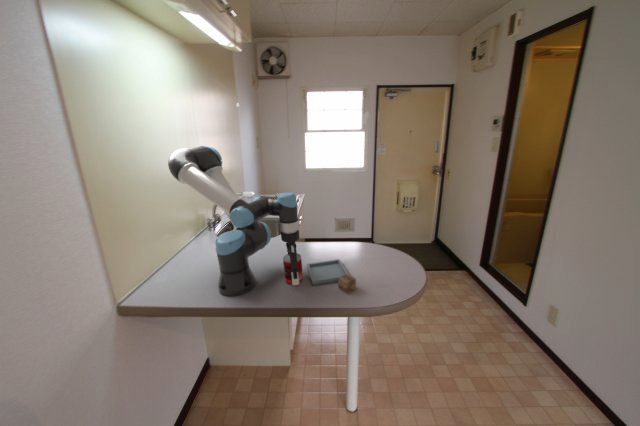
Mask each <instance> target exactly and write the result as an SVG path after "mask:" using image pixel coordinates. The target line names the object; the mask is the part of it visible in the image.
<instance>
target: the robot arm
mask: <svg viewBox="0 0 640 426" xmlns="http://www.w3.org/2000/svg"><path fill="white" fill-rule="evenodd" d="M222 159H223V158H222V155H221V153H220V152H219V151H218V150H217V149H216V148H214V147H212V146H210V145H207V146H206V145H205V146H204V145H201V146H197V147H196V146H195V147H188V148H179V149H177V150H175V151H173V152H172V153H171V155H170V156H169V158H168V161H167V165H168V170H169V172H170V174H171V175H172V177H173V178H175V179H176V180H177V181H178V182H179V183H181V184H183V185H188V186H189V187H191V188H192V189H194V190H195V191H197V192H198V193H199V194H201V195H202V196H203V197H205V198H206V199H207V200H209V201H210V202H212V203H213V204H215V205H216V206H217V207H218V208H220V209H221V210H222V211H223V212H224V214H225V215H226V216H227V218H228V219H229V221H230V223H231V224H232V225H233V229H231V230H230V231H229V230H228V231H225V232H223V233H221V234H220V235H218V236H217V237H216V239H215V243H214V244H215V252H216V256H217V261H218V267H219V277H218V283H217V287H218V292H219V293H220V294H222V295H223V296H227V297H234V296H235V297H236V296H240V295H241V296H242V295H243V294H246V293H248V292H250V291H251V290H253V289H254V287H255V286H256V278H255V275H254V273H253V271H252V269H251V268H250V265H249V257H251V256H252V255H254V254H256V253H258V252H259V251H261V250H263V249H264V248H265V247H267V245H269V243H270V242H271V237H272V235H271V234H272V231H271V229H270V227H269V225H267V223H265V222H263V221H260V220H262V219H264V218H266V217H269V216H272V217H273V216H274V217H278V219H279V222H278V223H279V230H280V239H281V241H282V242H283V243H284V242H285V247H286V252H287V254H288V255H289V256H290V262H291V269H292V270H290V272H291V275H292V284H291V286H298V285H300V283H299V276H298V271H299V270H298V263H297V255H296V254H297V253H298V252H297V243H296V241H297V242H298V241H299V240H300V230H299V225H300V223H301V222H300V221H299V216H298V202H297V196H296V194H295V193H294V192H291V191H290V192H280V193H278V194H277V196H275V197H273V196H266V195H260V196H255V197H254V199H253V200H252V202H247V201H246V200H244V199H242V198H241V197H239V196H238V194H237V193H236V191H234V189H233V187H232V186H231V185H230V183H229V181H228V180H227V178H226V177H225V175H224V174H223V173H222V172H223V168H224V167H223V161H222Z"/></svg>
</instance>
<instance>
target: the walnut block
mask: <svg viewBox="0 0 640 426" xmlns="http://www.w3.org/2000/svg"><path fill="white" fill-rule="evenodd" d="M337 283H338V284H337V286H338V287H337V288H338V289H339V290H340V291H342V292H343V293H344V294H345V295H346V294H349V293H351V292H353V291H356V290H357V279H356V277H354V276H352V275H351V274H349V273H348V274H346V275H343V276H341V277H338V282H337Z"/></svg>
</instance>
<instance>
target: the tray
mask: <svg viewBox="0 0 640 426" xmlns="http://www.w3.org/2000/svg"><path fill="white" fill-rule="evenodd" d="M305 266H306V269H307V270H306V271H307V273H308V276H309V279H310V281H311V284H312V286H314V287H315V286H320V285H326V284H332V283H333V284H334V283H338V277H341V276H343V275H346V274H349V273H348V271H347V269H346V268H345V265H344V264H343V263H342V261H341V259H340V258H338V259H332V260H331V259H330V260H325V261H317V262H311V263H306V265H305Z"/></svg>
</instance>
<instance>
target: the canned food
mask: <svg viewBox="0 0 640 426" xmlns="http://www.w3.org/2000/svg"><path fill="white" fill-rule="evenodd" d="M296 255H297V263H298V270H299V271H298V276H299V284H300V283H301V282H302V281H303V277H304V276H303V261H302V255H301V254H300V253H298V252H297V254H296ZM282 262H283V271H284V272H283V273H284V280H285V282H286V284H289V285H292V275H291V272H290V270H292V269H291V262H290V256H289V255H288V253H286V254H285V255H284V256H283V258H282Z"/></svg>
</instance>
